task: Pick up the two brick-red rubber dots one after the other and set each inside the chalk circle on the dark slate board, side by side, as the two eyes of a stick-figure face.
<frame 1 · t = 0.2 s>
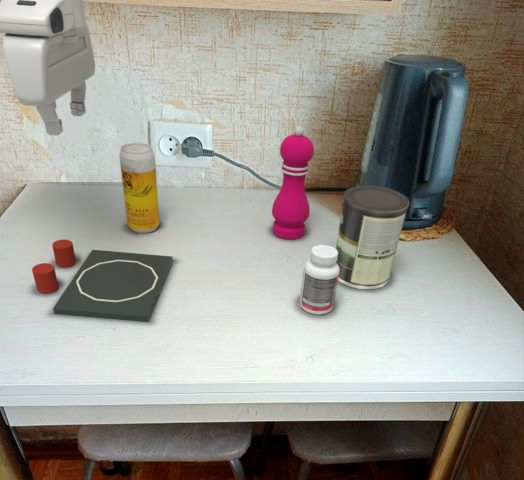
hand: (67, 124, 73), 22 cm above the table, tool pointing down, fingers open, 8 cm apart
dot b: (47, 288, 80), on the table
slate board: (118, 285, 82), on the table
pill bottle: (316, 306, 81), on the table
pepper mill: (288, 233, 100), on the table
beer can: (144, 228, 98), on the table
coffee can: (360, 275, 89), on the table
dot a: (66, 262, 86), on the table
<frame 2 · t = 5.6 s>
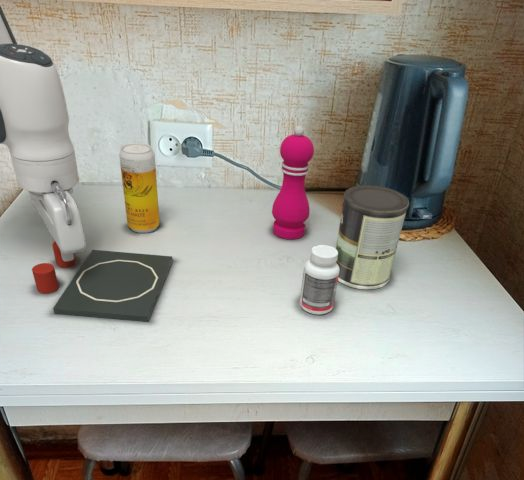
hand: (64, 252, 85), 2 cm above the table, tool pointing down, fingers closed on dot a, 3 cm apart
dot a: (66, 262, 86), on the table, touching gripper
everything else where it was.
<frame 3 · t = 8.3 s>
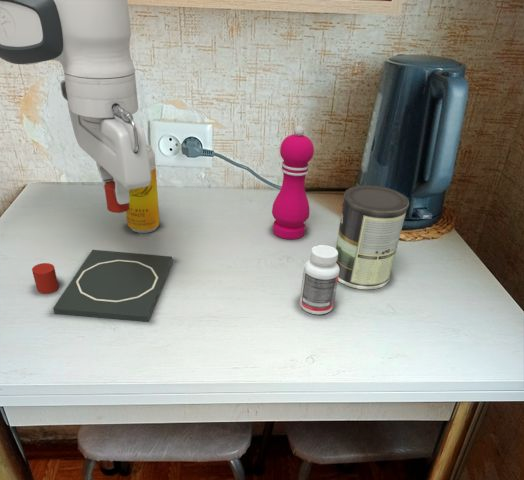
hand: (116, 196, 76), 14 cm above the table, tool pointing down, fingers closed on dot a, 3 cm apart
dot a: (118, 208, 77), point 12 cm above the table, touching gripper
everything else where it was.
when the fingers open (3 cm above the table, at t = 11.0 s): dot a stays where it is, resting on slate board.
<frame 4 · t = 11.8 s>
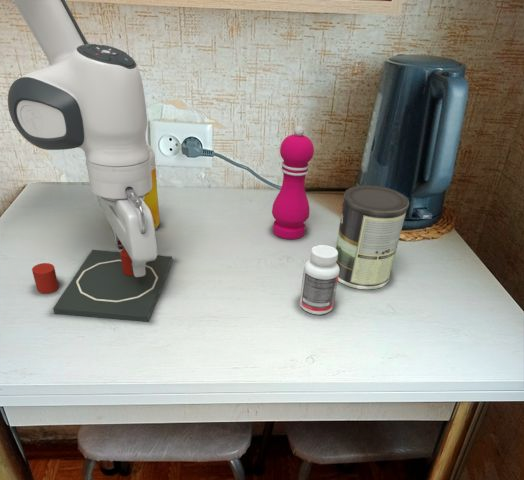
hand: (130, 260, 82), 3 cm above the table, tool pointing down, fingers open, 8 cm apart
dot a: (132, 271, 84), point 1 cm above the table, touching slate board
everything else where it was.
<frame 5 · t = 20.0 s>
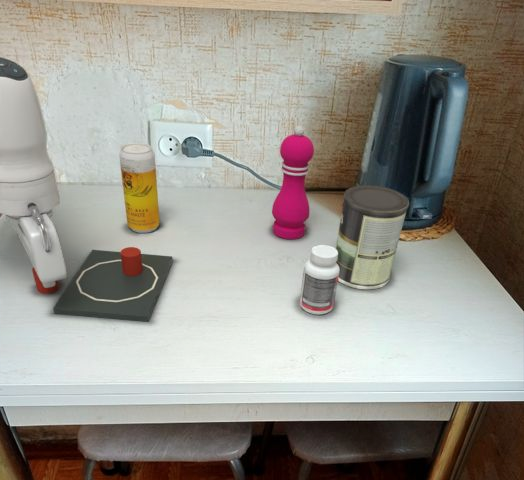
hand: (45, 277, 79), 2 cm above the table, tool pointing down, fingers closed on dot b, 3 cm apart
dot b: (48, 288, 80), on the table, touching gripper
everything else where it was.
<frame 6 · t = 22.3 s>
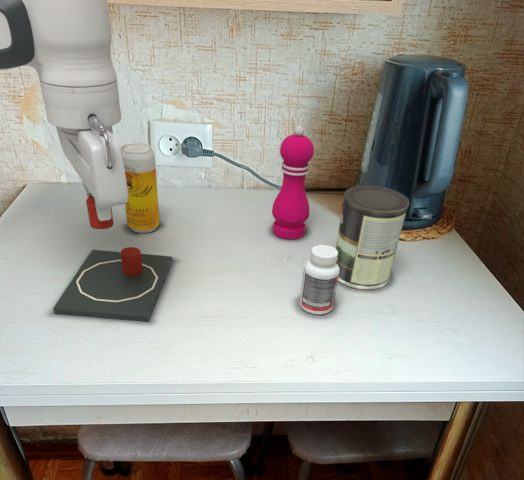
hand: (99, 211, 71), 14 cm above the table, tool pointing down, fingers closed on dot b, 3 cm apart
dot b: (101, 224, 72), point 12 cm above the table, touching gripper
everything else where it was.
when the fingers open (3 cm above the table, at t = 25.1 s): dot b stays where it is, resting on slate board.
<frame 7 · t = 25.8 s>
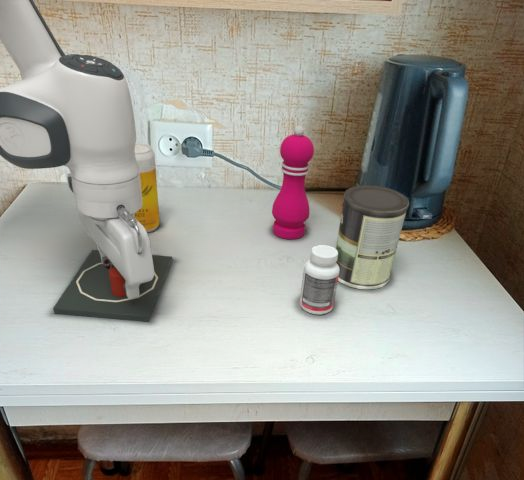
hand: (120, 280, 78), 3 cm above the table, tool pointing down, fingers open, 8 cm apart
dot b: (122, 291, 79), point 1 cm above the table, touching slate board
everything else where it was.
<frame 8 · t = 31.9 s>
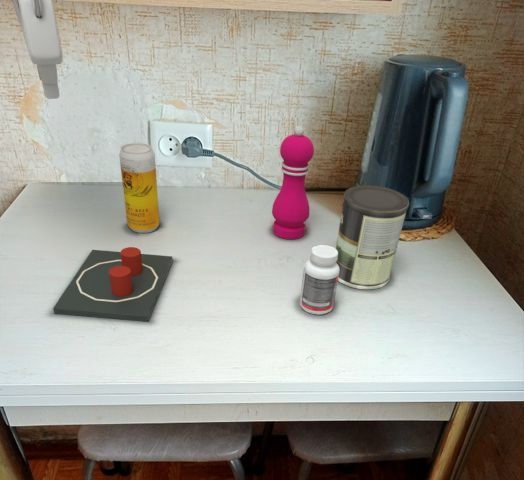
hand: (49, 88, 70), 27 cm above the table, tool pointing down, fingers open, 8 cm apart
nothing on the table moved.
at the end: dot a 0.5 cm from the target spot on the slate board, point 1.0 cm above the slate board's base; dot b 0.5 cm from the target spot on the slate board, point 1.0 cm above the slate board's base; dot b tilted 0° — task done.
